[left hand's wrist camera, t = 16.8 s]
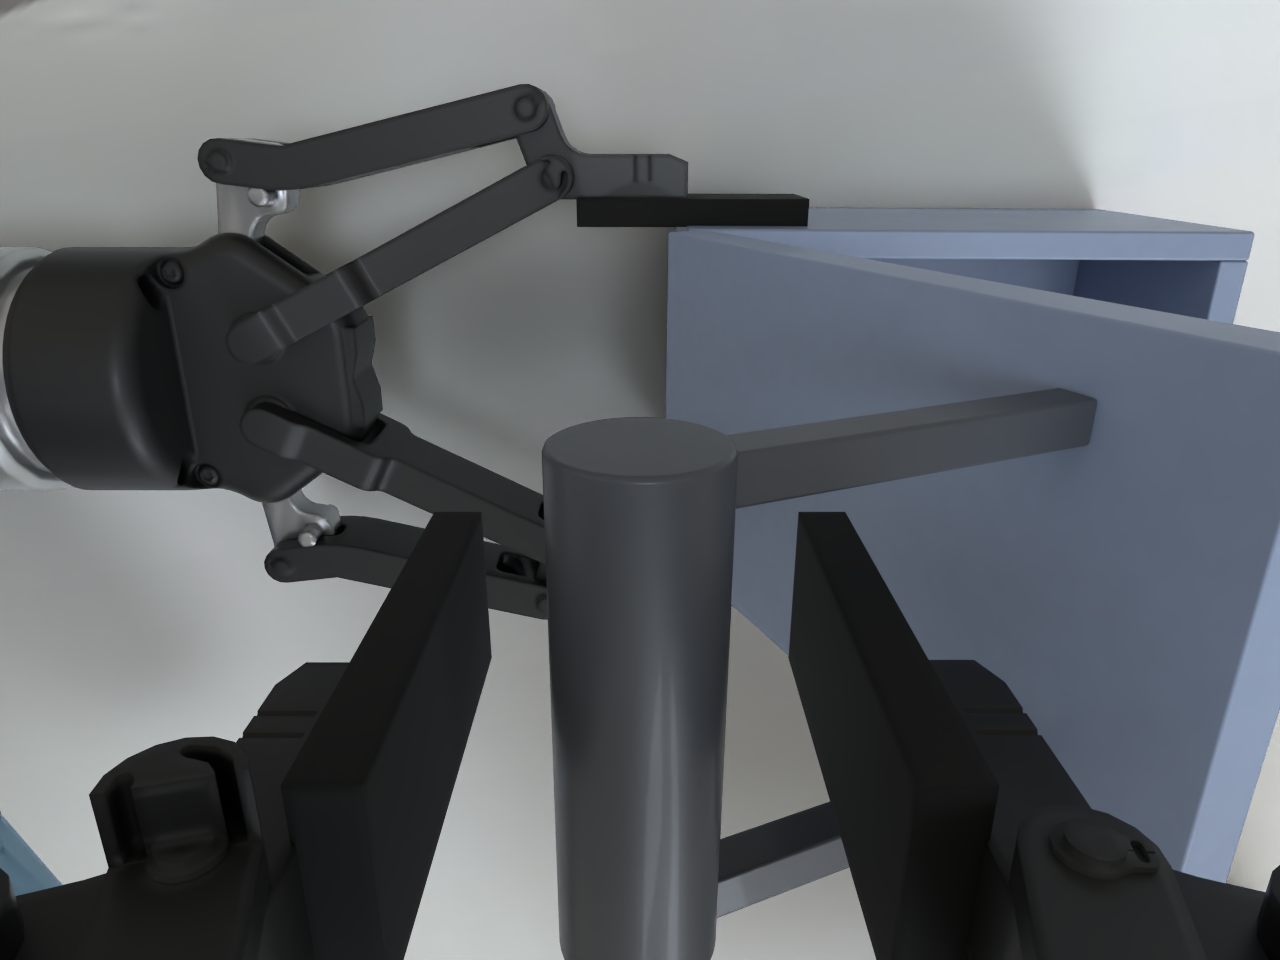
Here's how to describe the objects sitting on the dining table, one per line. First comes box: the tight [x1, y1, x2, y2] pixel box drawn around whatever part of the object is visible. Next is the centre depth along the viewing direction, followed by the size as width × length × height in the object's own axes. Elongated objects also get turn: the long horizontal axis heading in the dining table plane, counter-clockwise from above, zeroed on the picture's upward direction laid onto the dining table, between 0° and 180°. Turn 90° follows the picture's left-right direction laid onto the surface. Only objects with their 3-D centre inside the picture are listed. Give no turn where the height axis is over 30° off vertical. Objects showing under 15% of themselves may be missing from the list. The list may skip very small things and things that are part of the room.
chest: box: [676, 208, 1254, 324], centre depth 30 cm, size 16×9×9 cm, turn 90°
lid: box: [542, 230, 1280, 960], centre depth 17 cm, size 16×9×9 cm
